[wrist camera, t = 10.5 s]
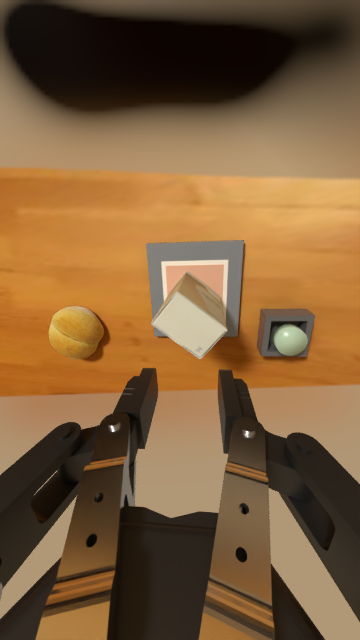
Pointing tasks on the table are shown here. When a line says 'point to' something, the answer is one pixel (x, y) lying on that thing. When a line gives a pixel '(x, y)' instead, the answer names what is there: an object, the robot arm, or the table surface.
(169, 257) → the picture board
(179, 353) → the table surface
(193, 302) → the skincare box
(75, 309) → the bread roll
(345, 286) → the table surface
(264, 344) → the button housing
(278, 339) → the button
